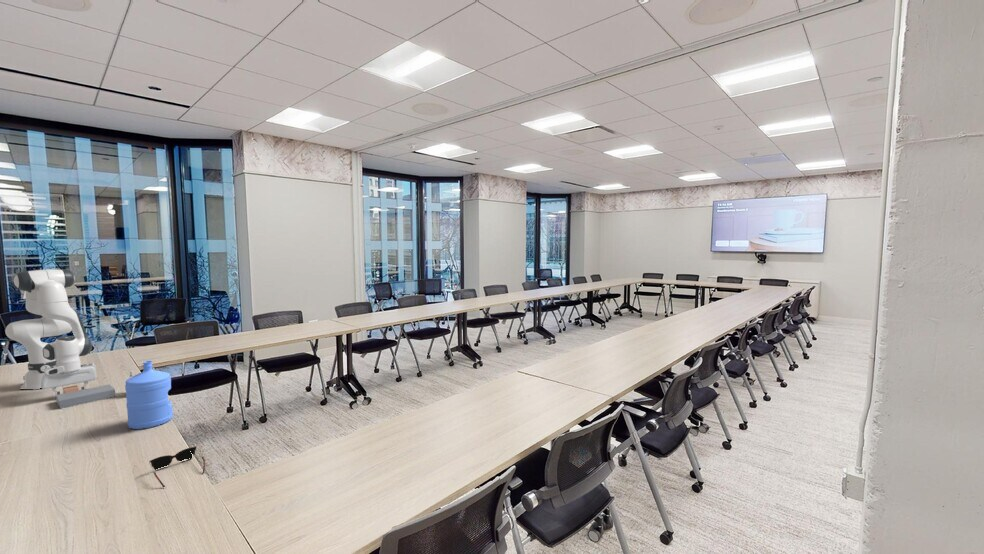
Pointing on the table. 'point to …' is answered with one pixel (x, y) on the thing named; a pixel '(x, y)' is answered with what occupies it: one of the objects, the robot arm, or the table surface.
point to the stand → (84, 396)
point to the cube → (70, 389)
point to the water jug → (148, 398)
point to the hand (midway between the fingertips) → (70, 392)
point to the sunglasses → (167, 459)
